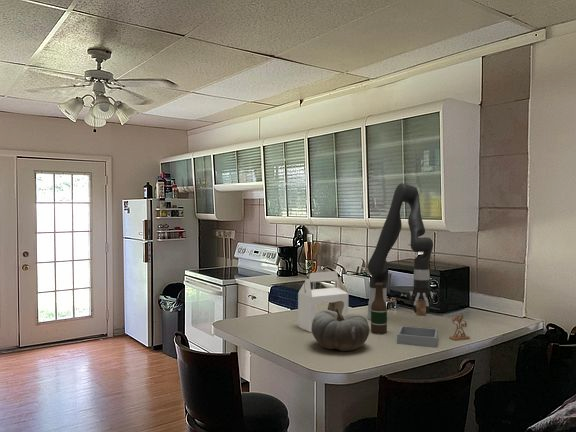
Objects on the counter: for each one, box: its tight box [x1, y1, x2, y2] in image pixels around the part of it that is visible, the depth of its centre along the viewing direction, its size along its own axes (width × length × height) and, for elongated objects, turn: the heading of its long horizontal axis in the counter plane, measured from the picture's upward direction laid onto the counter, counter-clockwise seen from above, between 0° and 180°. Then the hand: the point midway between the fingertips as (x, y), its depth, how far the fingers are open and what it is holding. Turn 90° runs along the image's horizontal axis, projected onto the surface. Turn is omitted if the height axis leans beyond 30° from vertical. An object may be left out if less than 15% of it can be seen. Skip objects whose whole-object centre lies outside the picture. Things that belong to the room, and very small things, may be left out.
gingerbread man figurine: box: [448, 312, 471, 341], centre depth 229 cm, size 9×4×12 cm, turn 112°
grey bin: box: [396, 325, 439, 348], centre depth 225 cm, size 17×17×4 cm
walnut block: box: [415, 299, 427, 317], centre depth 240 cm, size 4×4×7 cm
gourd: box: [311, 308, 371, 352], centre depth 215 cm, size 25×25×17 cm
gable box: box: [297, 270, 349, 334], centre depth 248 cm, size 22×13×28 cm, turn 118°
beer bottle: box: [370, 283, 388, 335], centre depth 239 cm, size 8×8×24 cm
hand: (421, 313), depth 241 cm, fingers closed on walnut block, 4 cm apart
